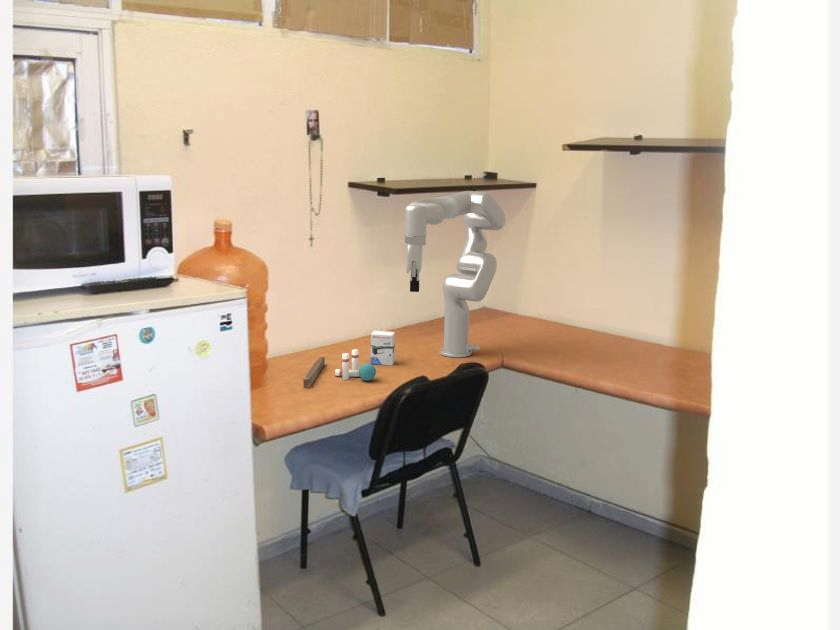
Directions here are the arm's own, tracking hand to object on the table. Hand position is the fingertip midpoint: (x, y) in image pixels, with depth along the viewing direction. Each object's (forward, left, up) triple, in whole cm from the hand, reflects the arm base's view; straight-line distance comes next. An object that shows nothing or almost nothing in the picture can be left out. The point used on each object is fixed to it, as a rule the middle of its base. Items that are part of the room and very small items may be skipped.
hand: (414, 291), depth 286 cm
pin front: (+18, +11, -28) cm, 35 cm away
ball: (+15, +15, -26) cm, 34 cm away
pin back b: (+23, +15, -29) cm, 40 cm away
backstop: (+34, +12, -29) cm, 46 cm away
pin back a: (+20, +9, -29) cm, 36 cm away
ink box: (+12, -7, -29) cm, 33 cm away
